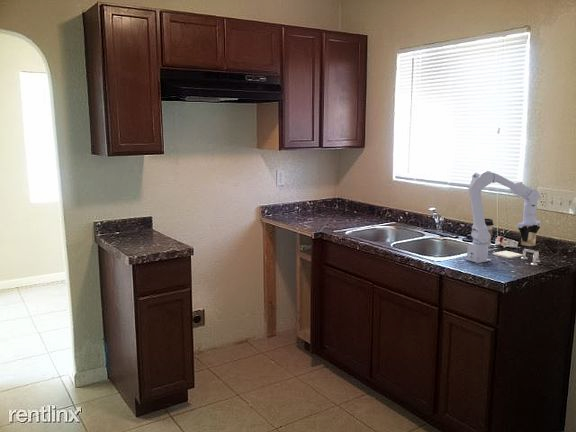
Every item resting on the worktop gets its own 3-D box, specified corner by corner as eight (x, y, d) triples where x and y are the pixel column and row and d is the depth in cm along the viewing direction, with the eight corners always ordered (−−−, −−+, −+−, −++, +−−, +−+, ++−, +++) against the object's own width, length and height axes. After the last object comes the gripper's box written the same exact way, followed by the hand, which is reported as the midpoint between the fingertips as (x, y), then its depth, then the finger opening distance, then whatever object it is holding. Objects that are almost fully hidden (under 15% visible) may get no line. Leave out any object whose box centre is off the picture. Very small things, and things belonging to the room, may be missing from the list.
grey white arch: (534, 265, 239) (535, 255, 238) (511, 259, 250) (511, 249, 250) (547, 263, 243) (547, 252, 242) (523, 257, 255) (524, 247, 254)
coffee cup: (494, 245, 281) (495, 219, 279) (490, 248, 274) (491, 221, 272) (478, 244, 286) (479, 217, 284) (474, 247, 279) (475, 220, 277)
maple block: (529, 246, 247) (529, 234, 246) (521, 244, 251) (521, 232, 250) (535, 245, 249) (536, 233, 248) (527, 243, 253) (528, 231, 252)
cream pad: (508, 258, 253) (509, 256, 253) (492, 254, 262) (492, 252, 262) (522, 256, 258) (522, 254, 258) (505, 252, 267) (505, 250, 267)
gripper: (527, 215, 241) (525, 243, 243) (547, 213, 247) (545, 240, 249) (514, 213, 247) (512, 241, 249) (534, 211, 253) (532, 238, 256)
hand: (528, 240), depth 250 cm, fingers closed on maple block, 4 cm apart
